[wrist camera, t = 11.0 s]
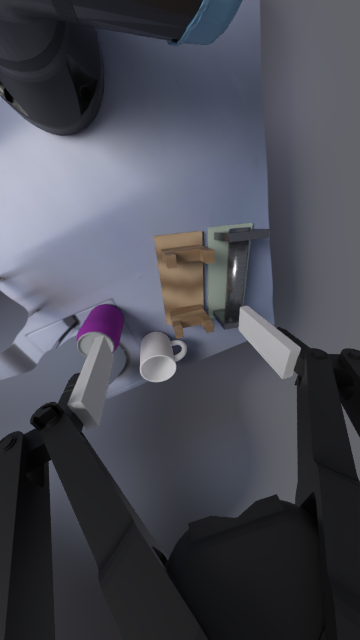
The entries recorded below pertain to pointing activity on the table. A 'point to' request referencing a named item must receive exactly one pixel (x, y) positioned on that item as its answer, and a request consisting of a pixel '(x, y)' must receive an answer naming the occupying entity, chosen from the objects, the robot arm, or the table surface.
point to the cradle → (183, 279)
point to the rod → (236, 271)
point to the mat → (220, 269)
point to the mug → (159, 356)
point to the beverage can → (100, 328)
